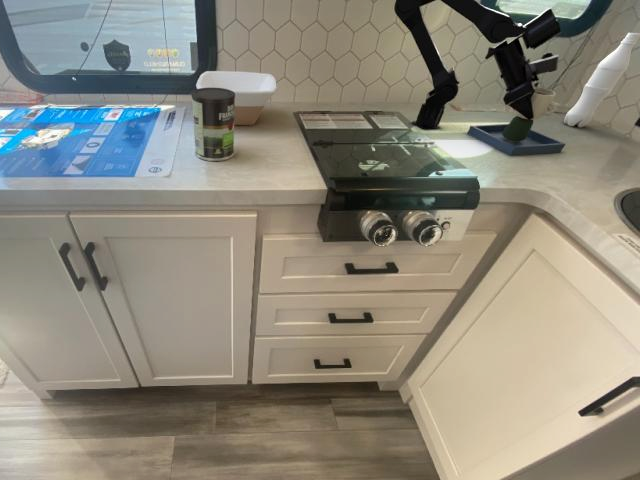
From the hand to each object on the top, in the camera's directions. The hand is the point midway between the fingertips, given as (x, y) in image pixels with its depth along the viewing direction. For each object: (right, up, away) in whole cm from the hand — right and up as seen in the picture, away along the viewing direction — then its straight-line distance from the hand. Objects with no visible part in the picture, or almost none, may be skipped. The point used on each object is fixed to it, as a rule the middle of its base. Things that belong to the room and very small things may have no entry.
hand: (532, 115), depth 97 cm
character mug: (-1, -4, +6) cm, 7 cm away
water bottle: (+31, +8, +20) cm, 38 cm away
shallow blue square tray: (-1, -5, +6) cm, 8 cm away
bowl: (-85, +6, +14) cm, 86 cm away
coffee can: (-90, -14, -7) cm, 91 cm away
